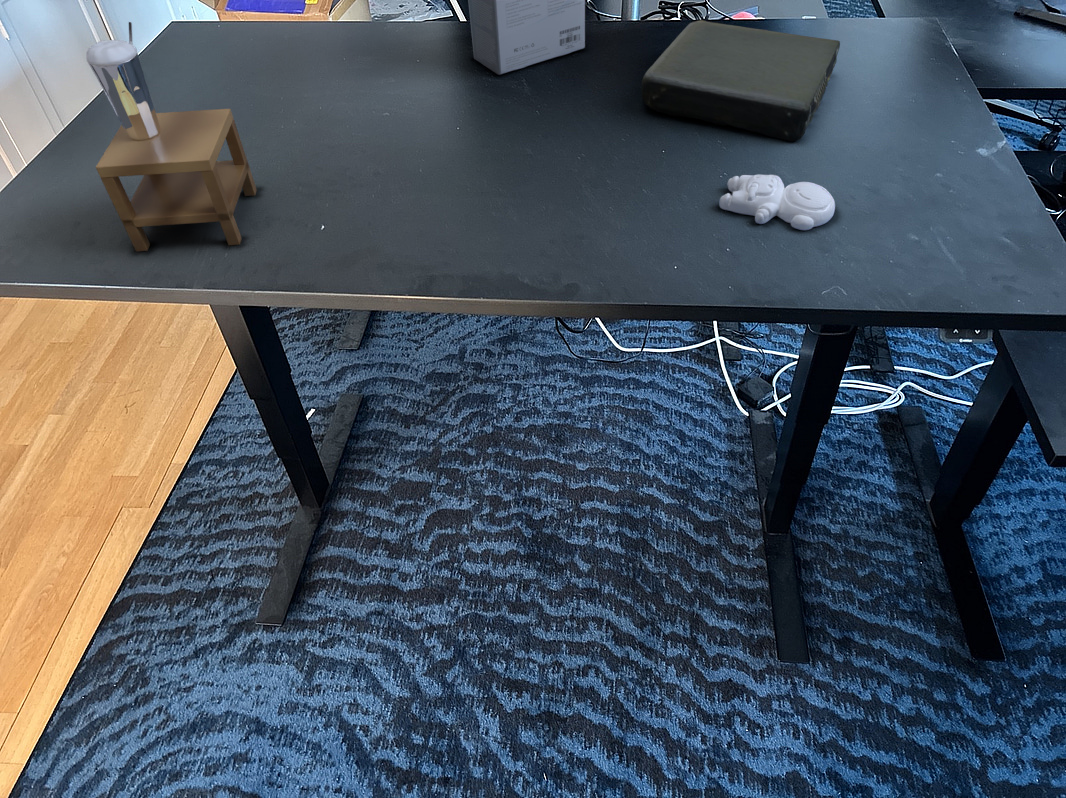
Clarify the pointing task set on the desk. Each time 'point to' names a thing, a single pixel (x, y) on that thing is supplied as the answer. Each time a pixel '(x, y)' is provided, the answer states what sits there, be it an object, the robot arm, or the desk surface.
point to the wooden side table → (179, 174)
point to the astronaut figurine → (779, 200)
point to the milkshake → (125, 86)
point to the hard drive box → (525, 31)
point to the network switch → (742, 78)
